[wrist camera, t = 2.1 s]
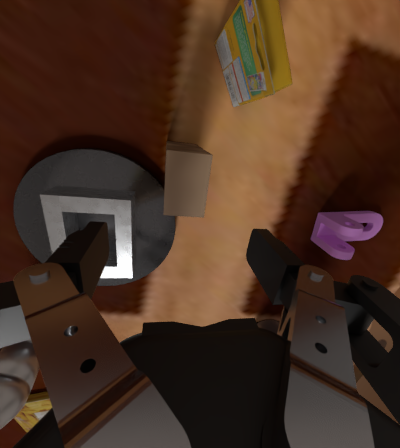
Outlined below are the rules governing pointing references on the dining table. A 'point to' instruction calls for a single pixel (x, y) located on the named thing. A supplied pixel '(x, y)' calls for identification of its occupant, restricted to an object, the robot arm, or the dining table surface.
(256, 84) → the crayon box
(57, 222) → the grey round socket base
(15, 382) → the plastic bottle
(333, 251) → the bracket
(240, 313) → the dining table surface
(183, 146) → the tan rectangular block
